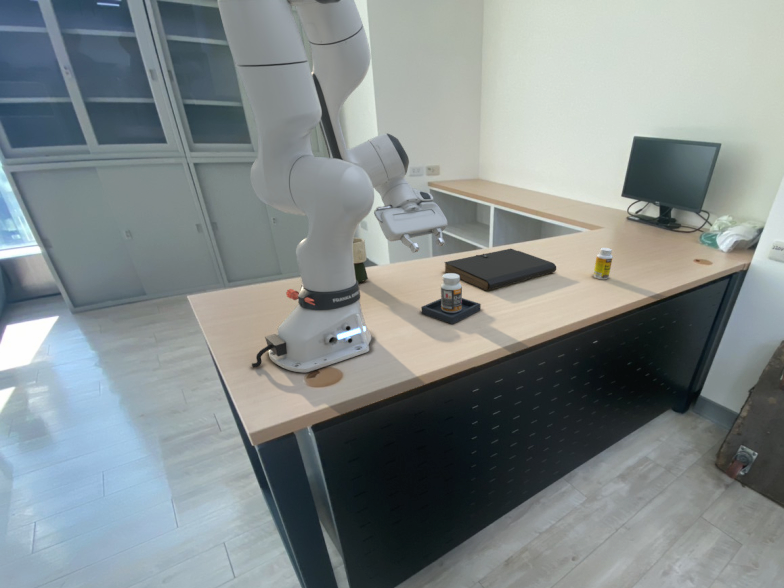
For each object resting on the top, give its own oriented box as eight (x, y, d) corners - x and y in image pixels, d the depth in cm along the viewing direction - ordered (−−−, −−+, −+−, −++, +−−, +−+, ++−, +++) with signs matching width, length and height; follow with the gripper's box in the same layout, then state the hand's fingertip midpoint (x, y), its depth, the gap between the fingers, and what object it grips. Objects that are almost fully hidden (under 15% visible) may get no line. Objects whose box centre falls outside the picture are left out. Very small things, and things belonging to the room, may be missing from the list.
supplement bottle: (602, 281, 144) (608, 252, 139) (590, 276, 147) (594, 248, 142) (611, 278, 147) (617, 249, 142) (598, 274, 151) (603, 246, 145)
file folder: (510, 247, 161) (557, 263, 147) (509, 257, 163) (555, 274, 149) (443, 260, 141) (489, 280, 127) (443, 272, 143) (489, 293, 129)
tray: (452, 324, 107) (452, 317, 106) (421, 313, 112) (421, 306, 111) (480, 310, 116) (480, 303, 115) (450, 300, 121) (450, 294, 120)
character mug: (339, 278, 132) (332, 238, 125) (359, 274, 137) (354, 235, 130) (356, 288, 126) (350, 245, 119) (376, 283, 131) (372, 242, 124)
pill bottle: (458, 315, 111) (458, 280, 106) (438, 312, 112) (437, 277, 107) (464, 307, 116) (464, 273, 111) (445, 305, 117) (444, 271, 112)
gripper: (375, 199, 100) (404, 247, 100) (435, 193, 114) (460, 235, 114) (366, 215, 104) (394, 261, 105) (425, 207, 118) (449, 248, 119)
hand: (429, 247), depth 109 cm, fingers open, 8 cm apart
